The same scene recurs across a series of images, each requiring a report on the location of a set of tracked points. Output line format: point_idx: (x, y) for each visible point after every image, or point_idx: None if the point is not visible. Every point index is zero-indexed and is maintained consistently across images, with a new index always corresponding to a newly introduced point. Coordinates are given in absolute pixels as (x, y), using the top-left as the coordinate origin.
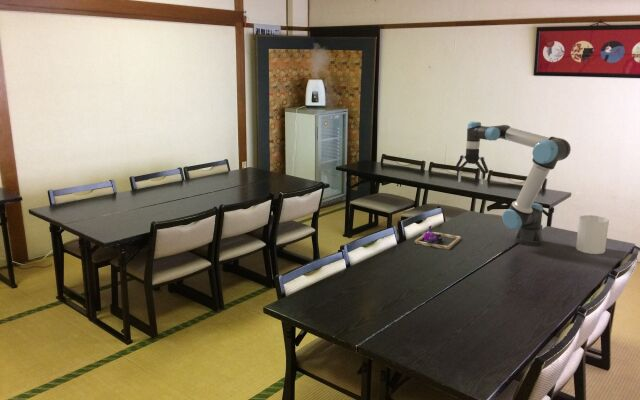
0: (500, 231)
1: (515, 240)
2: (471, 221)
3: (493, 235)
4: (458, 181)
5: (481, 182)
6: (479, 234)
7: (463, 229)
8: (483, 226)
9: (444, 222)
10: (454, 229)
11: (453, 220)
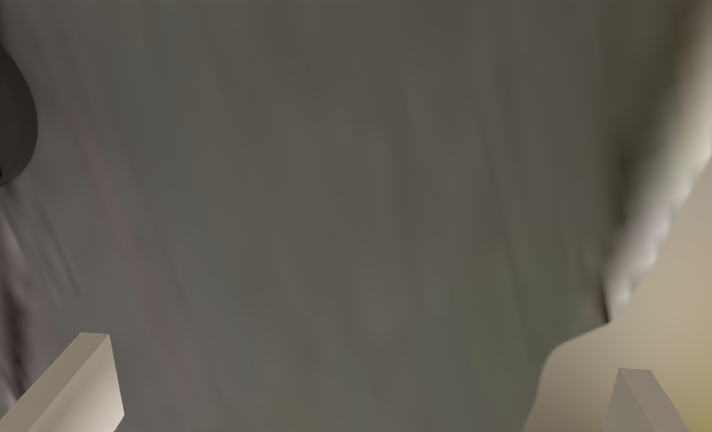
0: (186, 245)
1: (8, 59)
2: (421, 377)
3: (192, 129)
4: (648, 382)
5: (59, 367)
6: (285, 103)
7: (427, 173)
8: (319, 304)
9: (599, 280)
10: (491, 140)
11: (543, 351)
